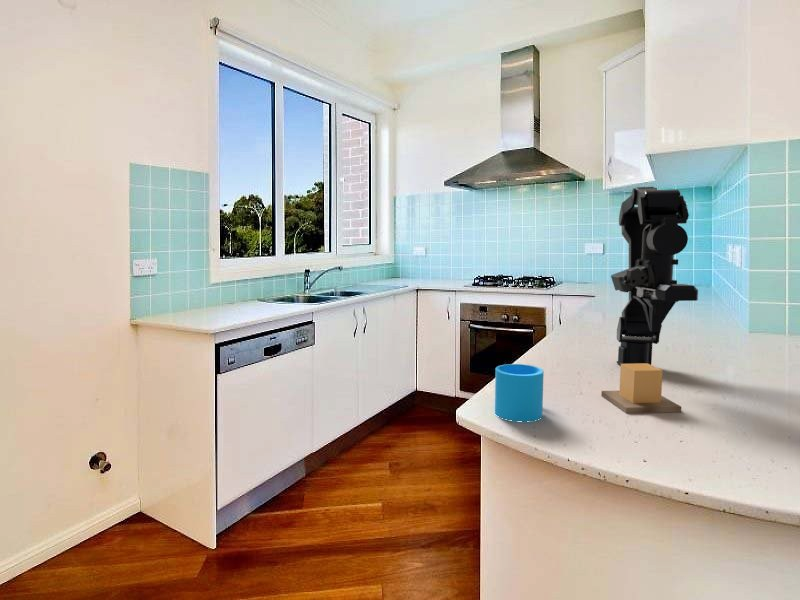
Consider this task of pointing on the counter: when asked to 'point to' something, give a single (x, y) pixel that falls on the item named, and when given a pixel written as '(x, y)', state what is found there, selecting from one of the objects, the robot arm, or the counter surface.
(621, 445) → the counter surface
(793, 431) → the counter surface
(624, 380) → the tan wooden cube
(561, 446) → the counter surface
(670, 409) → the walnut base
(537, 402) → the mug
